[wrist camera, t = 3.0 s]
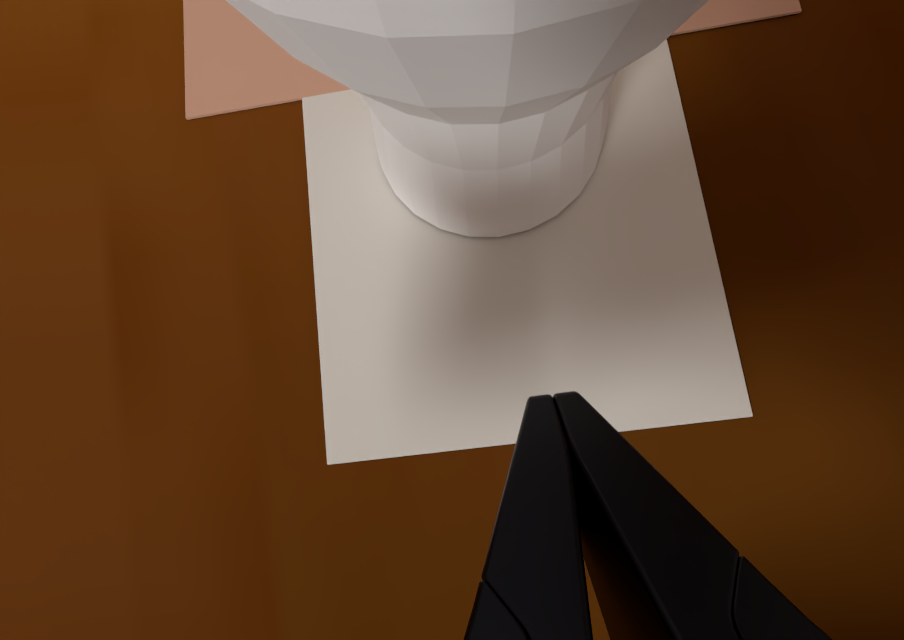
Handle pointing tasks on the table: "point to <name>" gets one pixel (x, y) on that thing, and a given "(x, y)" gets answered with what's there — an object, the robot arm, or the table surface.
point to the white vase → (477, 92)
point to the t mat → (497, 265)
